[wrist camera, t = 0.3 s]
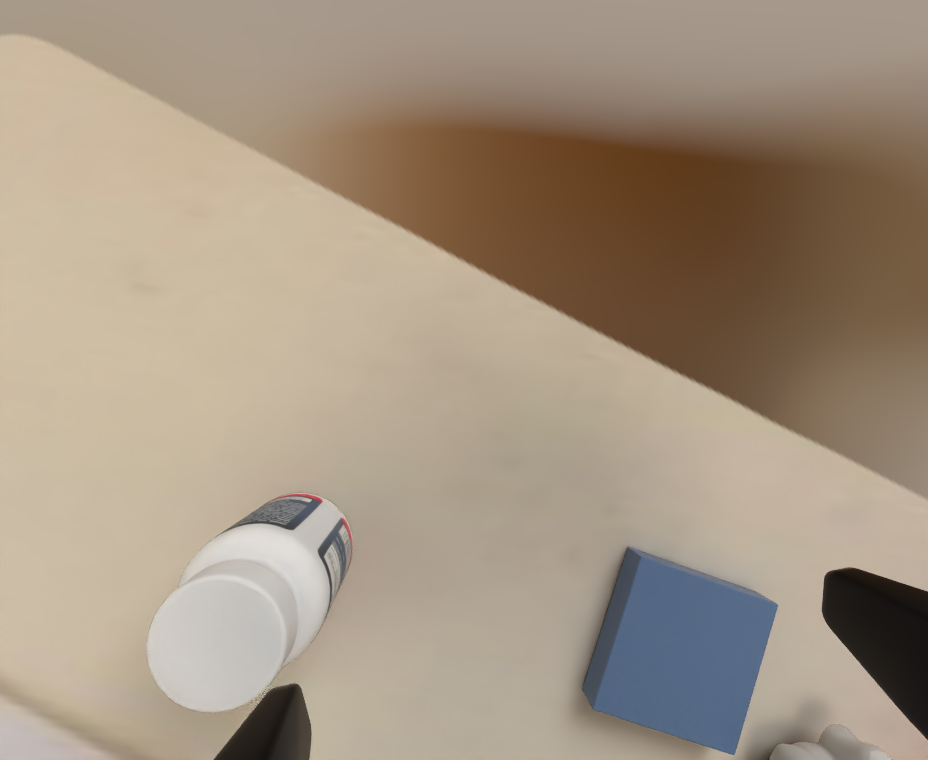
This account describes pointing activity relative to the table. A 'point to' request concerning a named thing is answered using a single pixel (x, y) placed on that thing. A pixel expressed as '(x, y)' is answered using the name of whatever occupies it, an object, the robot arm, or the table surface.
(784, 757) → the rubber duck
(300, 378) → the table surface
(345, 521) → the pill bottle
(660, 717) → the sticky note pad
